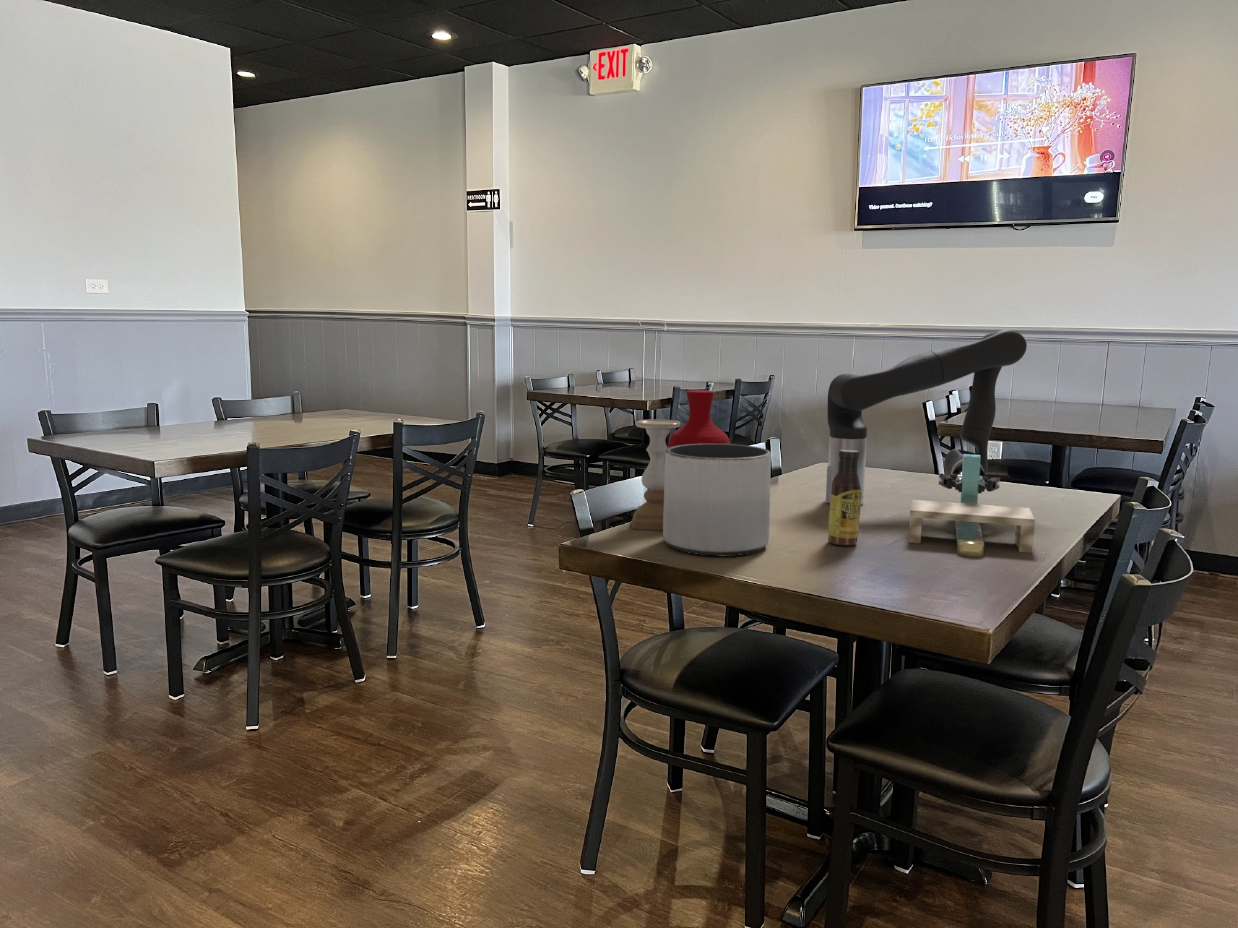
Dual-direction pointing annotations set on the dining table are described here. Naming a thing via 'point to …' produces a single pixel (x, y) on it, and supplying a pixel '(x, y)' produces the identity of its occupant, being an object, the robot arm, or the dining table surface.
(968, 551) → the block
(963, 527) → the bar
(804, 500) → the dining table surface
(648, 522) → the candle holder
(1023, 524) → the plinth shelf
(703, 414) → the vase
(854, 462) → the sauce bottle
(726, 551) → the planter
